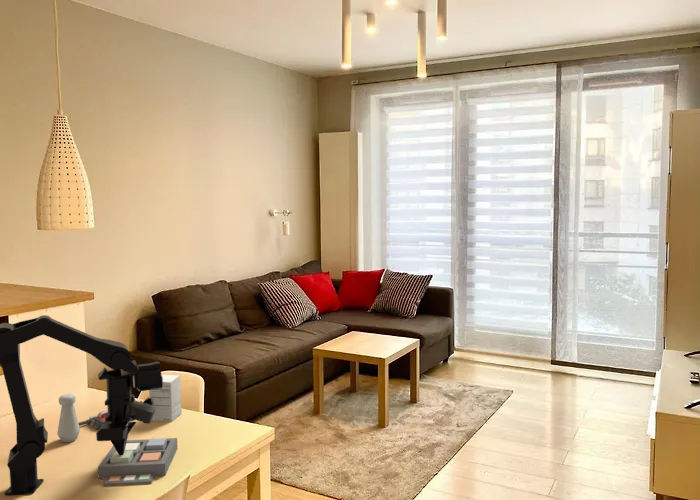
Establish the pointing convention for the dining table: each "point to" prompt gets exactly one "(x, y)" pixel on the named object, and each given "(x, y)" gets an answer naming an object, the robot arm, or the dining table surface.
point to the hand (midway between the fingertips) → (121, 454)
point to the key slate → (156, 444)
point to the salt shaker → (68, 419)
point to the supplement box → (167, 399)
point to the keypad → (137, 465)
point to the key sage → (122, 457)
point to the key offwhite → (132, 446)
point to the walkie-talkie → (97, 420)
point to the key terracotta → (150, 457)
